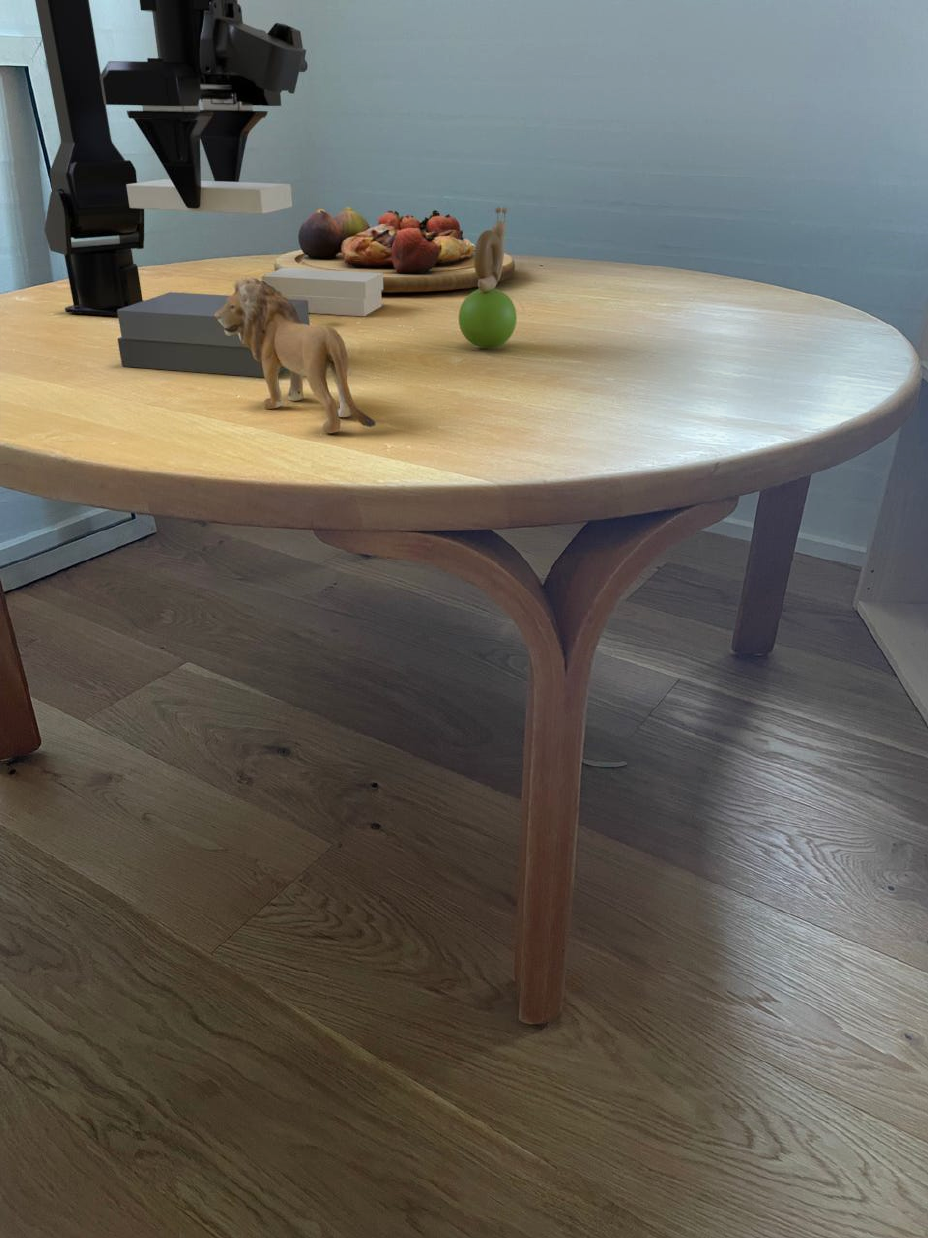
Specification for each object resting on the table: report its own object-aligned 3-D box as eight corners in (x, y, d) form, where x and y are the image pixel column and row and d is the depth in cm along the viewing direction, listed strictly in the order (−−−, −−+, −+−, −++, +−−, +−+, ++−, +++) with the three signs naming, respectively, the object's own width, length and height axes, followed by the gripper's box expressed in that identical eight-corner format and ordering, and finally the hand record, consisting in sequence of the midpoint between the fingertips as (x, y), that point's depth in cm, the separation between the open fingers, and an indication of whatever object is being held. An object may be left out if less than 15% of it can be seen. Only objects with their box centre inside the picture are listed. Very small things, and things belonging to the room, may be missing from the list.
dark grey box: (121, 366, 80) (111, 309, 78) (174, 343, 88) (166, 291, 85) (271, 378, 77) (266, 319, 75) (313, 353, 85) (309, 299, 82)
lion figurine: (216, 401, 71) (201, 278, 67) (270, 387, 75) (259, 270, 70) (348, 442, 63) (341, 305, 58) (402, 424, 66) (399, 294, 62)
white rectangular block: (129, 207, 77) (125, 184, 76) (166, 201, 82) (163, 179, 81) (262, 213, 74) (260, 189, 73) (292, 206, 79) (290, 183, 78)
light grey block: (262, 310, 102) (258, 275, 101) (284, 300, 108) (281, 267, 106) (366, 316, 100) (364, 281, 98) (383, 306, 105) (382, 272, 103)
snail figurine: (525, 341, 90) (530, 207, 84) (506, 356, 85) (510, 214, 79) (472, 337, 92) (474, 205, 86) (450, 351, 86) (450, 211, 80)
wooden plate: (519, 299, 110) (522, 224, 106) (251, 295, 110) (244, 220, 106) (510, 259, 138) (512, 199, 133) (297, 256, 138) (293, 195, 134)
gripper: (227, -37, 61) (250, 220, 68) (331, -8, 76) (341, 198, 84) (78, -34, 63) (117, 214, 71) (209, -7, 79) (229, 194, 86)
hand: (211, 204), depth 78 cm, fingers closed on white rectangular block, 6 cm apart
